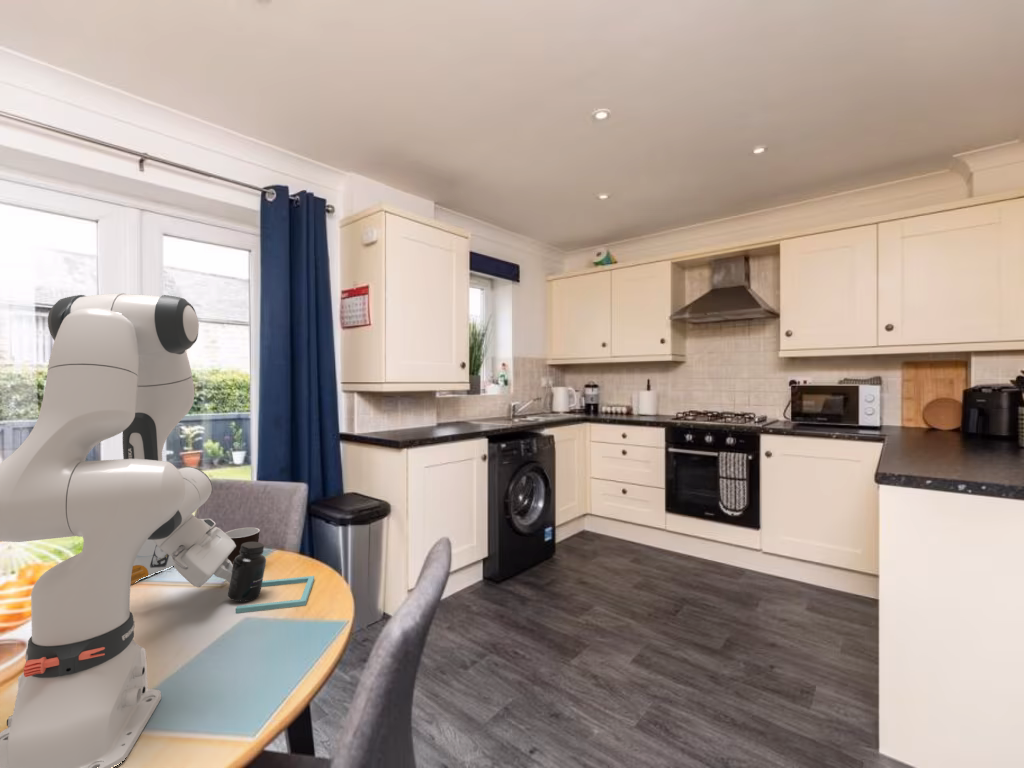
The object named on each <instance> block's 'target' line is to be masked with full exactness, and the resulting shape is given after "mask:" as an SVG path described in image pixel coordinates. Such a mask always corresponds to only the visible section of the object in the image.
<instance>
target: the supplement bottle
mask: <svg viewBox="0 0 1024 768" xmlns="http://www.w3.org/2000/svg"><path fill="white" fill-rule="evenodd" d="M264 548H265V544H264V543H262V542H259V541H258V542H246V543H243V544H242V545H241V550H240V555H238V556H237V557H236V558H235V559H234V562H233V567H232V576H231V581H230V583H229V585H228V589H227V590H228V591H227V597H228V598H229V599H230V600H231V601H234V602H250V601H253V600H256V599H257V598H259V596H260V595H261V591H262V588H263V587H262V581H264V575H265V571H266V570H265V569H266V564H267V558H266V557H265V555H263V554H264Z"/></svg>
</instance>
